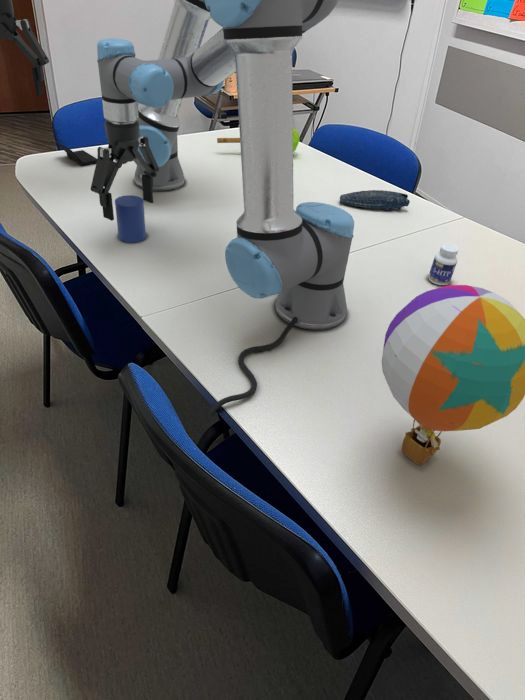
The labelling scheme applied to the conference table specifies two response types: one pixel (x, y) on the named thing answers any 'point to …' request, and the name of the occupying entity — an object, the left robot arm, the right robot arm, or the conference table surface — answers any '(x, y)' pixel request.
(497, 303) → the toy
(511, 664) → the conference table surface
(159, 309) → the conference table surface
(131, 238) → the can
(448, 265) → the pill bottle
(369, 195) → the fish model
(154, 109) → the left robot arm
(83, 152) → the black handled block
